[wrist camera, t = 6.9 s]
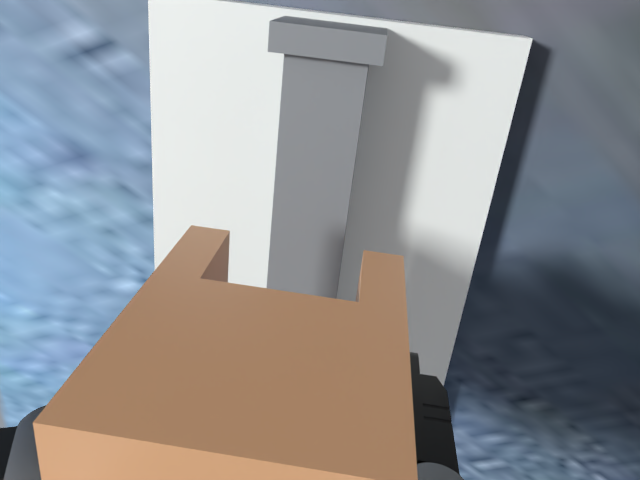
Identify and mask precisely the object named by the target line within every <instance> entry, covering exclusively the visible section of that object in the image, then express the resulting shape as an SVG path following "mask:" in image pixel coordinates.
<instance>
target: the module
mask: <svg viewBox="0 0 640 480" xmlns="http://www.w3.org/2000/svg"><path fill="white" fill-rule="evenodd" d="M229 241H230V231H228V230H221V229H214V228H208V227H201V226H194V225H191V226H190V227H189V229H188V230H187V231H186V232H185V234H184V235H183V236H182V237H181V239H180V240H179V241H178V242H177V244H176V245H175V246H174V247H173V249H172V250H171V251H170V252H169V253H168V255H167V256H166V257H165V258H164V260H163V261H162V262H161V263H160V265H159V266H158V267H157V268H156V270H155V271H154V272H153V273H152V275H151V276H150V277H149V278H148V280H147V281H146V282H145V283H144V285H143V286H142V287H141V288H140V290H139V291H138V292H137V293H136V295H135V296H134V297H133V298H132V300H131V301H130V302H129V303H128V305H127V306H126V307H125V308H124V310H123V311H122V312H121V313H120V315H119V316H118V317H117V318H116V320H115V321H114V322H113V323H112V324H111V326H110V327H109V328H108V329H107V331H106V332H105V333H104V334H103V336H102V337H101V338H100V339H99V341H98V342H97V343H96V344H95V346H94V347H93V348H92V349H91V351H90V352H89V353H88V354H87V356H86V357H85V358H84V359H83V361H82V362H81V363H80V364H79V366H78V367H77V368H76V369H75V371H74V372H73V373H72V374H71V376H70V377H69V378H68V379H67V381H66V382H65V383H64V384H63V386H62V387H61V388H60V389H59V390H58V392H57V393H56V394H55V395H54V397H53V398H52V399H51V400H50V402H49V403H48V404H47V405H46V407H45V408H44V409H43V410H42V412H41V413H40V414H39V415H38V417H37V418H36V419H35V420H34V422H33V428H34V434H35V441H36V448H37V454H38V461H39V467H40V474H41V480H418V475H417V460H416V444H415V428H414V413H413V397H412V381H411V365H410V350H409V334H408V318H407V302H406V287H405V271H404V256H401V255H394V254H387V253H380V252H373V251H367V250H364V251H363V257H362V263H361V270H360V276H359V282H358V288H357V295H356V301H348V300H342V299H335V298H328V297H322V296H315V295H308V294H301V293H295V292H288V291H281V290H275V289H268V288H261V287H255V286H248V285H241V284H235V283H228V265H229Z"/></svg>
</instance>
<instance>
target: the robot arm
mask: <svg viewBox="0 0 640 480" xmlns="http://www.w3.org/2000/svg"><path fill="white" fill-rule="evenodd" d="M410 365H411V381H412V397H413V413H414V428H415V444H416V460H417V475H418V480H464V479H463V478H462V477H461V476H460V474H459V469H458V462H457V455H456V449H455V442H454V435H453V428H452V424H451V415H450V411H449V401H448V395H447V391H446V389H445V388H444V386H443V385H442V384H441V382H440V381H439V379H438V378H437V376H431V375H424V374H420V367H419V356H418V353H414V352H410ZM45 407H46V406H43V407H40V408H38V409H36V410H34V411H32V412H31V413H29V414H28V415H27V416H26V417H24V418H23V419H22V421H21V422H20V423H19V425H18V426H16V427H8V428H0V480H41V474H40V467H39V461H38V454H37V448H36V441H35V434H34V428H33V422H34V420H35V419H36V418H37V417H38V415H39V414H40V413H41V412H42V410H43V409H44V408H45Z"/></svg>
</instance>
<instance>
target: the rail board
mask: <svg viewBox="0 0 640 480" xmlns="http://www.w3.org/2000/svg"><path fill="white" fill-rule="evenodd" d="M148 10H149V51H150V92H151V133H152V174H153V215H154V256H155V270H156V268H157V267H158V266H159V265H160V263H161V262H162V261H163V260H164V258H165V257H166V256H167V255H168V253H169V252H170V251H171V250H172V249H173V247H174V246H175V245H176V244H177V242H178V241H179V240H180V239H181V237H182V236H183V235H184V234H185V232H186V231H187V230H188V229H189V227H190V226H191V225H194V226H201V227H208V228H214V229H221V230H228V231H230V241H229V265H228V283H235V284H241V285H248V286H255V287H261V288H268V289H275V290H281V291H288V292H295V293H301V294H308V295H315V296H322V297H328V298H335V299H342V300H348V301H356V295H357V288H358V282H359V276H360V270H361V263H362V257H363V251H364V250H367V251H373V252H380V253H387V254H394V255H401V256H404V271H405V287H406V302H407V318H408V334H409V350H410V352H414V353H418V356H419V367H420V374H424V375H431V376H437V378H438V379H439V381H440V382H441V384H442V385H443V386H444V382H445V378H446V374H447V371H448V367H449V363H450V359H451V355H452V351H453V347H454V343H455V339H456V336H457V332H458V328H459V324H460V320H461V316H462V312H463V308H464V304H465V300H466V297H467V293H468V289H469V285H470V281H471V277H472V273H473V269H474V265H475V262H476V258H477V254H478V250H479V246H480V242H481V238H482V234H483V230H484V226H485V223H486V219H487V215H488V211H489V207H490V203H491V199H492V195H493V191H494V188H495V184H496V180H497V176H498V172H499V168H500V164H501V160H502V156H503V153H504V149H505V145H506V141H507V137H508V133H509V129H510V125H511V121H512V117H513V114H514V110H515V106H516V102H517V98H518V94H519V90H520V86H521V82H522V79H523V75H524V71H525V67H526V63H527V59H528V55H529V51H530V47H531V43H532V40H533V39H532V38H529V37H527V36H521V35H513V34H505V33H497V32H488V31H480V30H472V29H464V28H456V27H447V26H439V25H431V24H423V23H415V22H406V21H398V20H390V19H382V18H373V17H365V16H357V15H349V14H341V13H332V12H324V11H316V10H308V9H300V8H291V7H283V6H275V5H267V4H258V3H250V2H242V1H234V0H148Z"/></svg>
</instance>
